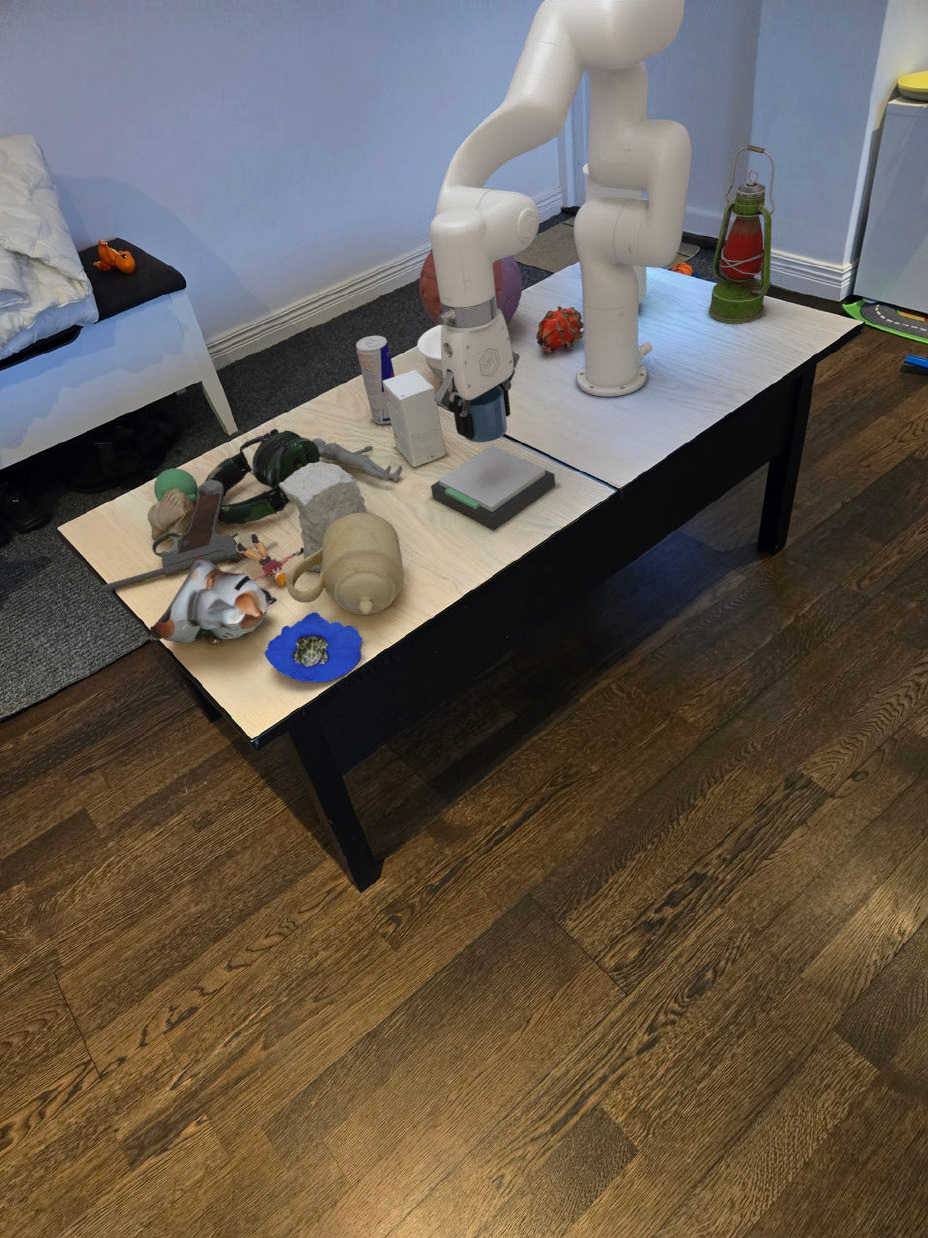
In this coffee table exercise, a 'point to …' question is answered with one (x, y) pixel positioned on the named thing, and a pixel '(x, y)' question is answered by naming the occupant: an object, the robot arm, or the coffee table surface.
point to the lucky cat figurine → (212, 606)
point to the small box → (414, 417)
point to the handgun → (192, 540)
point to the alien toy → (176, 484)
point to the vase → (600, 191)
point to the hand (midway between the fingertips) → (484, 423)
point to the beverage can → (376, 374)
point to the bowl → (432, 350)
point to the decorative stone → (321, 501)
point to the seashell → (171, 514)
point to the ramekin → (488, 415)
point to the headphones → (263, 474)
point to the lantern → (743, 253)
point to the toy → (315, 649)
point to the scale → (493, 487)
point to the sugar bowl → (355, 565)
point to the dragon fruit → (560, 329)
